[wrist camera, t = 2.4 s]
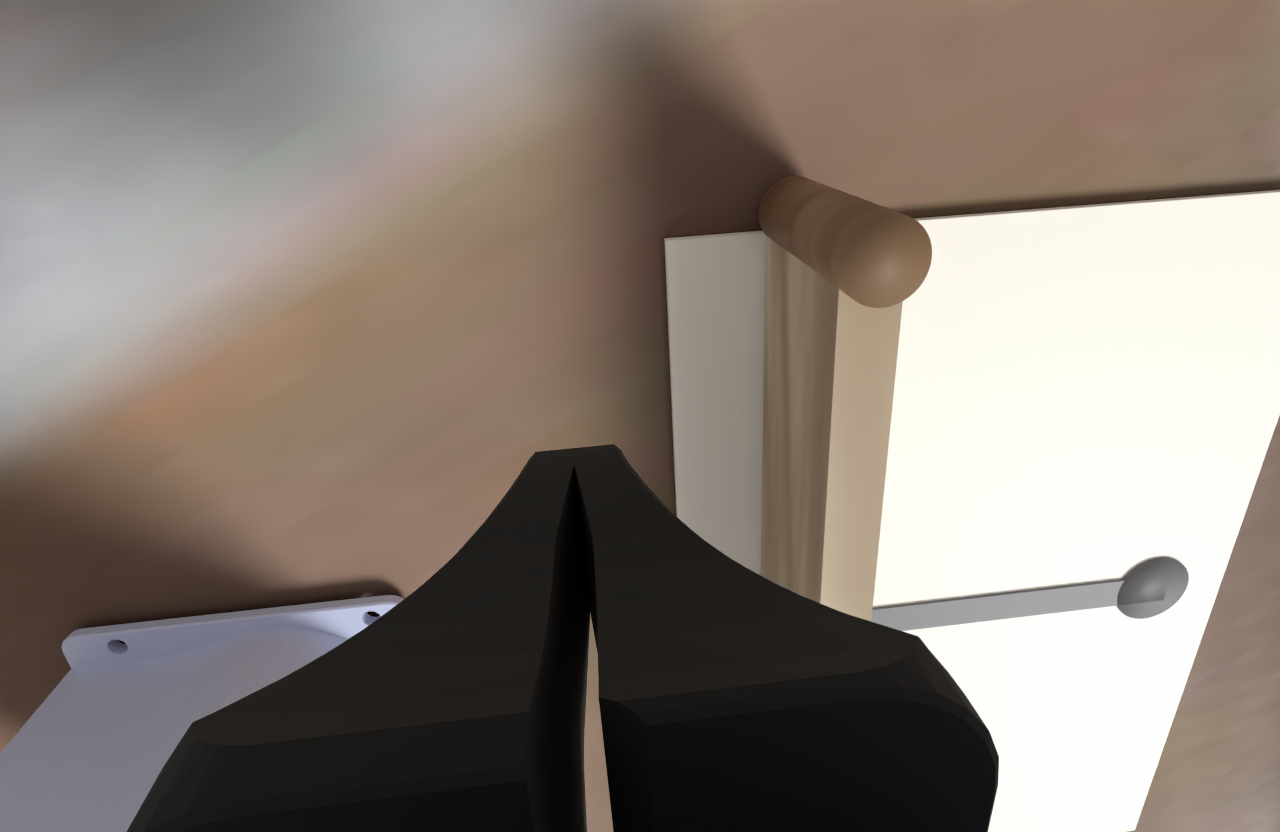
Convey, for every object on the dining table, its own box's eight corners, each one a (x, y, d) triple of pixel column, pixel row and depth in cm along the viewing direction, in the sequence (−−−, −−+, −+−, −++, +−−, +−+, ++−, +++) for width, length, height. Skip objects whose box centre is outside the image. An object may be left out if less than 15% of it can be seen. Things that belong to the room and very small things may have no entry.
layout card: (692, 884, 28) (694, 894, 28) (664, 237, 18) (666, 241, 17) (1129, 823, 29) (1136, 832, 29) (1347, 184, 19) (1363, 186, 18)
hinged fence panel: (754, 595, 22) (811, 745, 17) (758, 178, 17) (842, 217, 12) (805, 589, 22) (877, 737, 17) (825, 173, 17) (937, 209, 12)
